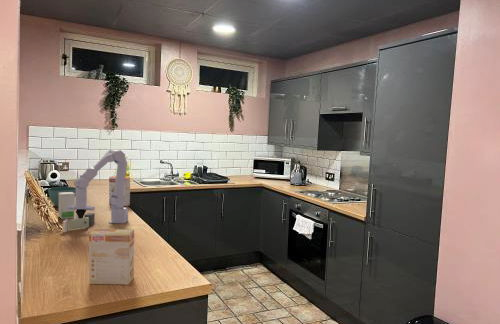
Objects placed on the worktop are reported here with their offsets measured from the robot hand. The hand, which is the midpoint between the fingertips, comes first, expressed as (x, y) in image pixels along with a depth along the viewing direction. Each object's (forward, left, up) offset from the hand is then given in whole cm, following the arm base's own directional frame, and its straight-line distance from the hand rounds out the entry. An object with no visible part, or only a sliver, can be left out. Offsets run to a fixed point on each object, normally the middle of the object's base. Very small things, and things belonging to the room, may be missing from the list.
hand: (81, 222), depth 210 cm
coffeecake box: (-43, +69, -3) cm, 81 cm away
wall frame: (+5, +1, -3) cm, 6 cm away
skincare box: (+19, -21, -3) cm, 28 cm away
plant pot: (+37, -52, -3) cm, 64 cm away
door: (0, +3, -3) cm, 4 cm away
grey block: (-1, -8, -3) cm, 9 cm away
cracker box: (-1, -60, -3) cm, 60 cm away
